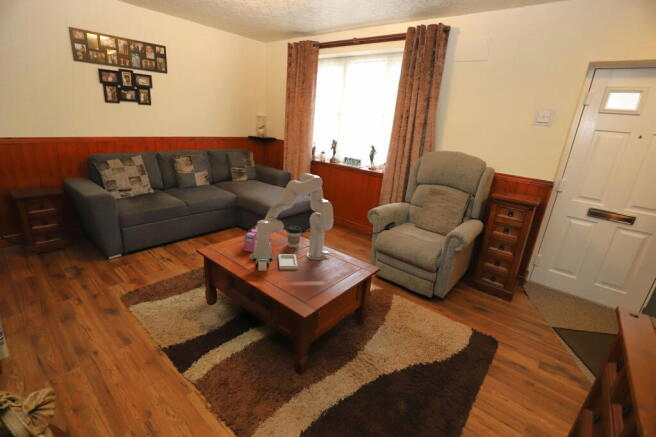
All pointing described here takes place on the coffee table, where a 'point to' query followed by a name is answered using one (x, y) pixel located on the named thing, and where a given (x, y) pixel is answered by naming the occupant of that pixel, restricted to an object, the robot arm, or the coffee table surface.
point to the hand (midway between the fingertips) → (262, 268)
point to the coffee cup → (293, 236)
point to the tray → (287, 262)
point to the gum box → (250, 239)
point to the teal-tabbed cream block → (262, 264)
